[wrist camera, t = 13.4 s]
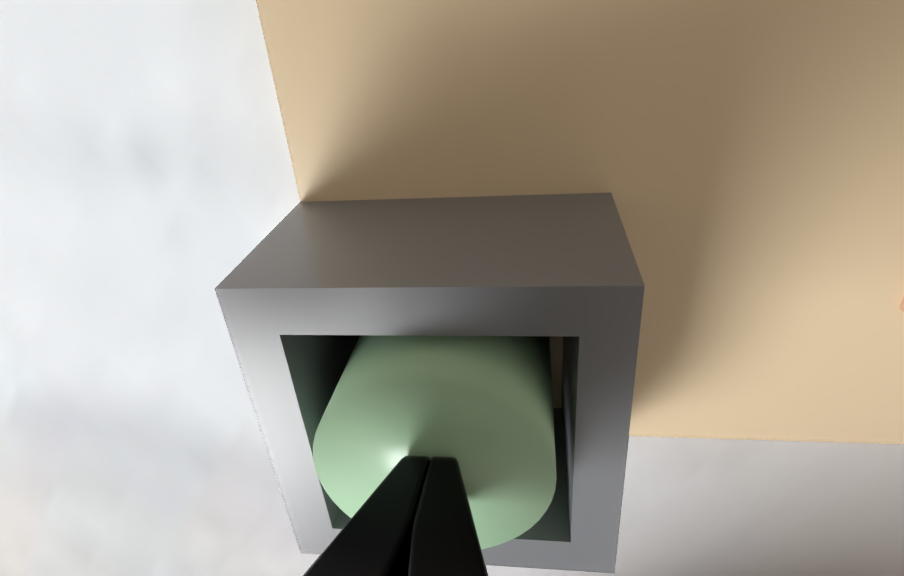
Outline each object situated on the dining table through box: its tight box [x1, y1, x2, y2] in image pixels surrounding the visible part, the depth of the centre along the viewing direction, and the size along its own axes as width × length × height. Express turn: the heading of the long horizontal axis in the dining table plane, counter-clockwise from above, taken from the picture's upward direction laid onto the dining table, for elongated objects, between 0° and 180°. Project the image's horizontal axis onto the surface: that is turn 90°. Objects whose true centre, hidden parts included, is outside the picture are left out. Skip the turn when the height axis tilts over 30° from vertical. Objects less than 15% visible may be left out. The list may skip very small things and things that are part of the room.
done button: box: [313, 335, 557, 549], centre depth 10 cm, size 4×4×4 cm
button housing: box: [215, 193, 645, 573], centre depth 11 cm, size 6×6×4 cm
